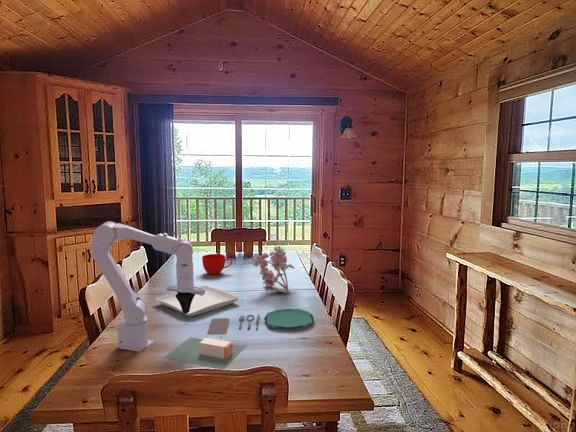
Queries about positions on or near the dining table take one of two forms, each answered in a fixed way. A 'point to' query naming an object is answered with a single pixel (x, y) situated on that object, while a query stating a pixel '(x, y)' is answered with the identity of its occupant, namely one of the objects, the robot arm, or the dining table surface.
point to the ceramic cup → (214, 263)
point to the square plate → (200, 301)
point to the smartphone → (218, 326)
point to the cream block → (216, 348)
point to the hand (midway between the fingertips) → (186, 312)
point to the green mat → (191, 354)
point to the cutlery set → (284, 319)
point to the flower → (277, 263)
